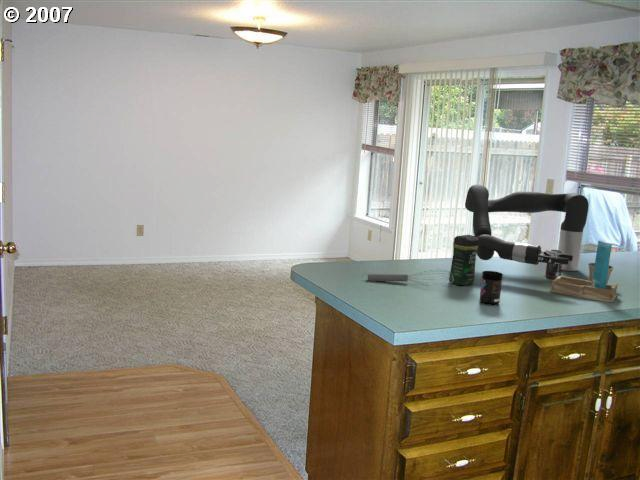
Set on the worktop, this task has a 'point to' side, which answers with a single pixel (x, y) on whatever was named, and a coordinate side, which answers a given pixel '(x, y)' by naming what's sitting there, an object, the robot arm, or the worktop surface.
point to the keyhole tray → (583, 289)
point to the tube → (601, 265)
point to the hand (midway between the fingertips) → (570, 260)
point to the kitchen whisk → (401, 277)
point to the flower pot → (591, 271)
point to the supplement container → (491, 287)
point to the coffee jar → (464, 259)
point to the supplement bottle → (553, 269)
